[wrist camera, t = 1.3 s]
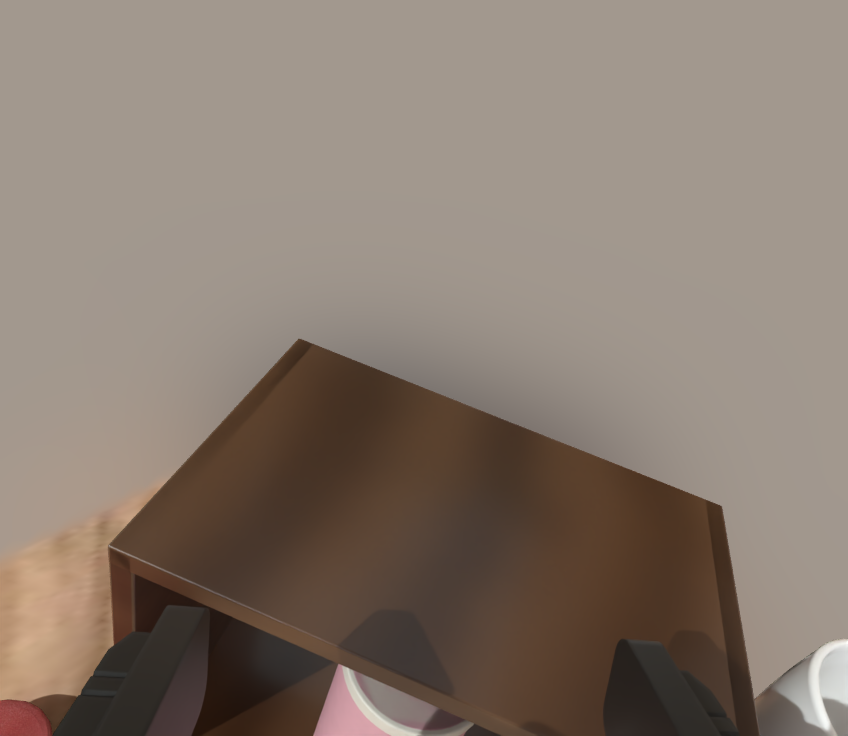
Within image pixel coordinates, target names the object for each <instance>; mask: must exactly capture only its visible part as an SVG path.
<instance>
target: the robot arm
mask: <svg viewBox="0 0 848 736" xmlns="http://www.w3.org/2000/svg"><path fill="white" fill-rule="evenodd" d="M209 628H210V611H209V608H204V607H190V606H176V605H168V606H167V607H166V608H165V609H164V611H163V613H162V615H161V616H160V618H159V620H158V621H157V623H156V625H155V627H154V628H153V630H152V632H151V633H148V632H133V631H132V632H131V633H130V634H128V635H127V636H126V637H124V638H123V639H122V640H121V641H119V642H118V643H117V644H115V645H114V646H113V647H111V648H110V649H109V650H108V651H107V653H106V654H105V656H104V657H103V659H102V660H101V662H100V663H99V665H98V666H97V668H96V669H95V671H94V674H93V676H91V677H90V679H89V680H88V682H87V683H86V685H85V686H84V688H83V689H82V692H81V695H78V697H77V698H76V700H75V702H74V703H73V705H72V706H71V708H70V709H69V711H68V712H67V714H66V715H65V717H64V718H63V720H62V721H61V723H60V724H59V726H58V728H57V729H56V731H55V732H54V734H53V735H52V736H191V735H192V733H193V730H194V727H195V725H196V722H197V720H198V717H199V714H200V711H201V708H202V704H203V700H204V695H205V690H206V684H207V671H208V650H209ZM603 722H604V730H605V734H606V736H740V735H739V731H738V729H737V728H736V726H735V725H734V723H733V722H732V720H731V719H730V718H727V713H726V712H725V710H724V709H723V707H722V706H721V704H720V703H719V701H718V700H717V698H716V697H715V695H714V694H713V693H712V691H711V690H710V689H709V688H707V687H706V686H705V685H704V684H703V683H702V682H700V681H699V680H698V679H697V678H696V677H695V676H694V675H692V674H691V673H690V672H689V671H684V670H679V669H678V667H677V666H676V664H675V662H674V661H673V659H672V658H671V656H670V655H669V653H668V652H667V650H666V648H665V647H664V646H663V644H662V643H661V642H659V641H646V640H632V639H621V640H620V641H619V642H618V643H617V646H616V649H615V654H614V659H613V663H612V668H611V672H610V677H609V682H608V686H607V691H606V696H605V700H604V706H603Z"/></svg>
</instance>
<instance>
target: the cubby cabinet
mask: <svg viewBox="0 0 848 736" xmlns="http://www.w3.org/2000/svg"><path fill="white" fill-rule="evenodd" d="M108 557H109V567H110V585H111V603H112V622H113V640H114V645H115V644H117V643H118V642H119V641H121V640H122V639H123V638H124V637H126V636H127V635H128V634H130V633H131V632H132V631H133V632H148V633H151V632H152V630H153V628H154V627H155V625H156V623H157V621H158V620H159V618H160V616H161V615H162V613H163V611H164V609H165V608H166V607H167V606H168V605H176V606H190V607H204V608H209V611H210V628H209V650H208V671H207V684H206V690H205V695H204V700H203V704H202V708H201V711H200V714H199V717H198V720H197V722H196V725H195V727H194V730H193V733H192V735H191V736H313V735H314V732H315V729H316V726H317V724H318V721H319V718H320V715H321V712H322V709H323V706H324V704H325V701H326V698H327V695H328V692H329V689H330V687H331V684H332V681H333V678H334V675H335V672H336V669H337V667H338V664H340V665H342V666H345V667H347V668H349V669H351V670H354V671H356V672H358V673H360V674H363V675H365V676H367V677H370V678H372V679H374V680H376V681H379V682H381V683H383V684H385V685H388V686H390V687H392V688H395V689H397V690H399V691H401V692H404V693H406V694H408V695H410V696H413V697H415V698H417V699H419V700H422V701H424V702H426V703H429V704H431V705H433V706H435V707H438V708H440V709H442V710H444V711H447V712H449V713H451V714H454V715H456V716H458V717H460V718H463V719H465V720H467V721H469V722H472V723H474V725H473V726H472V727H470V728H469V729H468V730H467V731H466V733H465V734H464V736H606V734H605V730H604V722H603V706H604V700H605V696H606V691H607V686H608V682H609V677H610V672H611V668H612V663H613V659H614V654H615V649H616V646H617V643H618V642H619V641H620V640H621V639H632V640H646V641H659V642H661V643H662V644H663V646H664V647H665V648H666V650H667V652H668V653H669V655H670V656H671V658H672V659H673V661H674V662H675V664H676V666H677V667H678V669H679V670H684V671H689V672H690V673H691V674H692V675H694V676H695V677H696V678H697V679H698V680H699V681H700V682H702V683H703V684H704V685H705V686H706V687H707V688H709V689H710V690H711V691H712V693H713V694H714V695H715V697H716V698H717V700H718V701H719V703H720V704H721V706H722V707H723V709H724V710H725V712H726V713H727V718H730V719H731V720H732V722H733V723H734V725H735V726H736V728H737V729H738V731H739V735H740V736H760V731H759V725H758V719H757V713H756V707H755V701H754V695H753V689H752V683H751V677H750V672H749V666H748V659H747V653H746V647H745V641H744V635H743V630H742V623H741V617H740V611H739V605H738V600H737V593H736V587H735V581H734V575H733V569H732V563H731V557H730V551H729V546H728V539H727V533H726V527H725V521H724V516H723V509H722V506H720V505H718V504H715V503H713V502H710V501H708V500H705V499H702V498H700V497H698V496H695V495H692V494H690V493H688V492H685V491H682V490H680V489H677V488H675V487H672V486H670V485H667V484H665V483H662V482H660V481H657V480H655V479H652V478H650V477H647V476H644V475H642V474H640V473H637V472H635V471H632V470H630V469H627V468H624V467H622V466H619V465H617V464H614V463H612V462H609V461H607V460H604V459H602V458H599V457H597V456H594V455H592V454H589V453H587V452H584V451H582V450H579V449H577V448H574V447H571V446H569V445H566V444H564V443H561V442H559V441H556V440H554V439H551V438H549V437H546V436H544V435H541V434H539V433H536V432H534V431H531V430H529V429H526V428H524V427H521V426H519V425H516V424H513V423H511V422H509V421H506V420H503V419H501V418H498V417H496V416H493V415H491V414H488V413H486V412H483V411H481V410H478V409H476V408H473V407H471V406H468V405H466V404H463V403H461V402H458V401H455V400H453V399H450V398H448V397H446V396H443V395H441V394H438V393H435V392H433V391H430V390H428V389H425V388H423V387H420V386H418V385H415V384H413V383H410V382H408V381H405V380H403V379H400V378H398V377H395V376H392V375H390V374H387V373H385V372H382V371H380V370H377V369H375V368H372V367H370V366H367V365H365V364H362V363H360V362H357V361H355V360H352V359H350V358H347V357H345V356H342V355H340V354H337V353H334V352H332V351H330V350H327V349H324V348H322V347H319V346H317V345H314V344H312V343H309V342H307V341H304V340H302V339H298V340H297V341H296V342H295V343H294V344H293V346H292V347H291V348H290V349H289V350H288V351H287V352H286V353H285V354H284V355H283V356H282V357H281V358H280V360H279V361H278V362H277V363H276V364H275V365H274V366H273V367H272V368H271V369H270V370H269V372H268V373H267V374H266V375H265V376H264V377H263V378H262V379H261V380H260V381H259V382H258V384H257V385H256V386H255V387H254V388H253V389H252V390H251V391H250V392H249V394H247V395H246V396H245V398H244V399H243V400H242V401H241V402H240V403H239V404H238V405H237V406H236V407H235V408H234V410H233V411H232V412H231V413H230V414H229V415H228V416H227V417H226V418H225V419H224V420H223V421H222V423H221V424H220V425H219V426H218V427H217V428H216V429H215V430H214V431H213V432H212V433H211V434H210V436H209V437H208V438H207V439H206V440H205V441H204V442H203V443H202V444H201V445H200V446H199V448H198V449H197V450H196V451H195V452H194V453H193V454H192V455H191V456H190V458H188V459H187V461H186V462H185V463H184V464H183V465H182V466H181V467H180V468H179V469H178V470H177V471H176V473H175V474H174V475H173V476H172V477H171V478H170V479H169V480H168V481H167V482H166V483H165V484H164V486H163V487H162V488H161V489H160V490H159V491H158V492H157V493H156V494H155V495H154V496H153V497H152V499H151V500H150V501H149V502H148V503H147V504H146V505H145V506H144V507H143V508H142V509H141V511H140V512H139V513H138V514H137V515H136V516H135V517H134V518H133V519H132V520H131V521H130V522H129V524H128V525H127V526H126V527H125V528H124V529H123V530H122V531H121V532H120V533H119V534H118V535H117V537H116V538H115V539H114V540H113V541H112V542H111V543H110V544H109V545H108Z"/></svg>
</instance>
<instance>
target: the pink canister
mask: <svg viewBox="0 0 848 736" xmlns="http://www.w3.org/2000/svg"><path fill="white" fill-rule="evenodd" d="M473 725H474V723H472V722H469V721H467V720H465V719H463V718H460V717H458V716H456V715H454V714H451V713H449V712H447V711H444V710H442V709H440V708H438V707H435V706H433V705H431V704H429V703H426V702H424V701H422V700H419V699H417V698H415V697H413V696H410V695H408V694H406V693H404V692H401V691H399V690H397V689H395V688H392V687H390V686H388V685H385V684H383V683H381V682H379V681H376V680H374V679H372V678H370V677H367V676H365V675H363V674H360V673H358V672H356V671H354V670H351V669H349V668H347V667H345V666H342V665H340V664H338V667H337V669H336V672H335V675H334V678H333V681H332V684H331V687H330V689H329V692H328V695H327V698H326V701H325V704H324V706H323V709H322V712H321V715H320V718H319V721H318V724H317V726H316V729H315V732H314V735H313V736H464V734H465V733H466V731H467V730H468V729H469V728H470V727H472V726H473Z"/></svg>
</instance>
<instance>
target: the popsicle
mask: <svg viewBox="0 0 848 736" xmlns="http://www.w3.org/2000/svg"><path fill="white" fill-rule="evenodd" d="M0 736H52V728H51V723H50V721H49V719H48V718H47V717H46V715H45V714H44V713H43V711H42V710H41V709H40V708H38V707H36V706H35V705H33V704H31V703H28V702H26V701H17V700H1V701H0Z"/></svg>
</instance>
